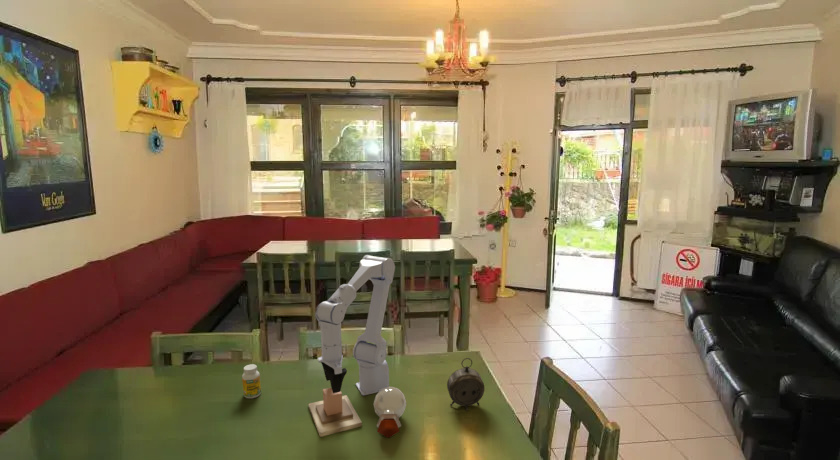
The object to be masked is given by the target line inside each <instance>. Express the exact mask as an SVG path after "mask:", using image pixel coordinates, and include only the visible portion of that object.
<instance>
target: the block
mask: <svg viewBox="0 0 840 460" xmlns="http://www.w3.org/2000/svg"><path fill="white" fill-rule="evenodd" d="M342 396H343V393H342V390H341V391H340V392H337V393H333V391H332V388H331V387H327V388H323V389H322V401H323V405H324V410H325V412H326V414H327V416H329V415H333V414H337V413H341V412H343V411H342Z"/></svg>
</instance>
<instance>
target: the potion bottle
mask: <svg viewBox="0 0 840 460" xmlns="http://www.w3.org/2000/svg"><path fill="white" fill-rule="evenodd" d="M406 407H407V401H406V397H405V394H404V393H403V392H402V391H401V390H400V389H399V387H398V388H397V387H394V386H390V385H389V387H386V388H382V389H381V390H380V391H379V392H377V393H376V395H375V397H374V400H373V408H374V413H375V414H376V415H377V416H378V418H379V419H378V421H377V423H376V427H377V431H376V432H377V433H378V434H380V435H382V436H384V437H385V438H388V439H390V438H392V437H393V436H395V435H396V434H397V433H400V431H401V430H400V428H401V427H402V424H401V421H400V418H401V416H402V415H403V414H404V413H405V409H406Z"/></svg>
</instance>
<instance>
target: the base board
mask: <svg viewBox="0 0 840 460" xmlns="http://www.w3.org/2000/svg"><path fill="white" fill-rule="evenodd" d="M308 410H309V413H310V415H311V417H312V420H313V422H314V425H315V427H316V430H317V432H318V435H319V437H322V438H323V437H325V436H329V435H333V434H336V433H337V434H338V433H341V432H344V431H348V430H353V429H355V428H359V427H360V428H361V427H363V424H362V423H363V422H362V421H361V418H360V417H359V415H358V413H357V411H356V410H355V408H354V406H353V404H352V402H351V400H350V399H349V397H348V395H346V394H345V395H342V411H343V412H341V413H337V414H333V415H329V416H327V414H326V412H325V410H324V405H323V400H319V401H314V402H310V403H308Z"/></svg>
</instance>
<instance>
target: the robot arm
mask: <svg viewBox="0 0 840 460" xmlns="http://www.w3.org/2000/svg"><path fill="white" fill-rule="evenodd" d="M358 267H359V268H358V269H357V271H355V273H354V275H353V276H352V278H350V280H349V281H348V283H343V284H341V285H339V287H338V288H337V289H336V290H335V292H334V293H333V294H332V295H331V296H330V297H329V298H328V299H327V300H325V301H322V302H320V303H319V304H318V305H317V307H316V312H315V314H314V315H315V319H316V320H317V322H318V326H319V328H320V340H321V341H320V343H321V356H319V357H317V362H318V363H321V365H322V368H323V373H324V377H325V380H326V381H329V382H330V388H332V391H333V393H337V392H340V391H341V392H342V385H343V381H344V379H345V376H346V375H347V372H348V371H347V368H346V367H344V368H343V366H342V365H343V364H342V363H343V359H344V356H343V348H342V347H343V346H342V344H343V341H342V323H341V322H343V321H344V318H345V316H346V315H345V314H346V313H347V310H348V307H350V305H351V304H352V303H353V302H354V300H355V299H356V298H357V291H358V290H359V289H360V288H361V287H362V286H363V285H364V284H365V283H367V281H369V280H370V281H371V282H372V285H373V287H372V288H373V289H372V293H371V299H370V302H369V309H368V313H367V320H366V324H365V329H364V332H363V333H362V334H360V335H358V336H357V338H356V339H357V340H356V342H355V343H354V346H353V349H352V355H353V358H354V359H355V360H356V364H358V375H359V376H358V377H359V378H358V379H359V382H356V383H355V386H356V388H357V389H358V391H359V392H360V395H361V396H367V395H368V396H369V395H371V394H378V392H379V391H380V390H381V389H382V388H386V387H389V386H390V369H389V365H388V362H387V360H386V358H387V341H386V339H385V338H383V336H382V334H381V333H382V327H383V322H384V319H385V318H384V317H385V312H386V309H387V308H386V307H387V302H388V296H389V291H390V286H391V284H393V279H394V276H395V271H396V265H395V261H394V260H393V258H391V257H382V256H375V255H374V256H373V255H370V254H365V255H364V256H363V257H362V259H361V260H359V266H358Z"/></svg>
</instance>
